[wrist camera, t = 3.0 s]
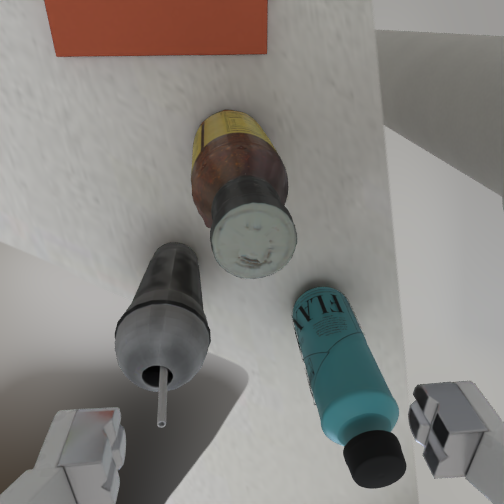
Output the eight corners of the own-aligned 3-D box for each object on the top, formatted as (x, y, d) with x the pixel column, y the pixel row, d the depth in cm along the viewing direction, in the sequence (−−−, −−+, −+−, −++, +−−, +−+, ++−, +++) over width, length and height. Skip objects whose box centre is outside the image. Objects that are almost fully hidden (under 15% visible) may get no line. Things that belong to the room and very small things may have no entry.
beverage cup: (123, 263, 41) (58, 440, 24) (171, 215, 39) (137, 371, 22) (179, 303, 44) (156, 486, 27) (226, 260, 42) (235, 429, 25)
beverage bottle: (335, 268, 44) (416, 431, 26) (353, 312, 47) (436, 484, 29) (278, 291, 44) (321, 465, 27) (300, 333, 48) (350, 512, 30)
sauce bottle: (229, 190, 38) (244, 329, 21) (179, 142, 36) (148, 256, 19) (281, 140, 36) (344, 248, 19) (232, 86, 34) (252, 155, 17)
